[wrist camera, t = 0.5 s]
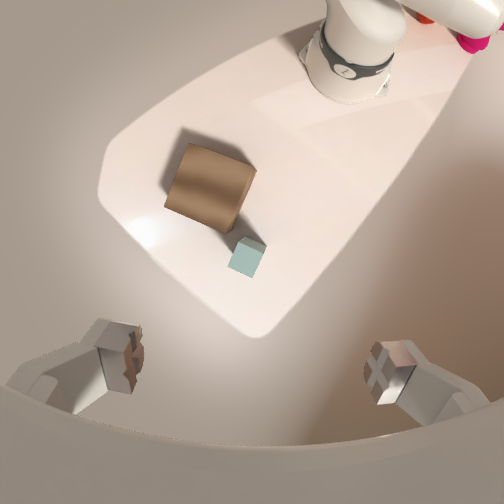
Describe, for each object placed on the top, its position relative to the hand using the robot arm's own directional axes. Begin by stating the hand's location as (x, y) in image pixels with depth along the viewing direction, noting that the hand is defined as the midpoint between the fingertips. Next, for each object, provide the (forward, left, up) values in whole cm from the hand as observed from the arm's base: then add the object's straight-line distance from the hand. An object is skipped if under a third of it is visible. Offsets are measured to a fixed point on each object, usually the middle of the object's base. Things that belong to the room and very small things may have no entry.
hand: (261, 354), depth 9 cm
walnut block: (-2, -14, -45) cm, 47 cm away
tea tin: (+6, -3, -44) cm, 45 cm away
